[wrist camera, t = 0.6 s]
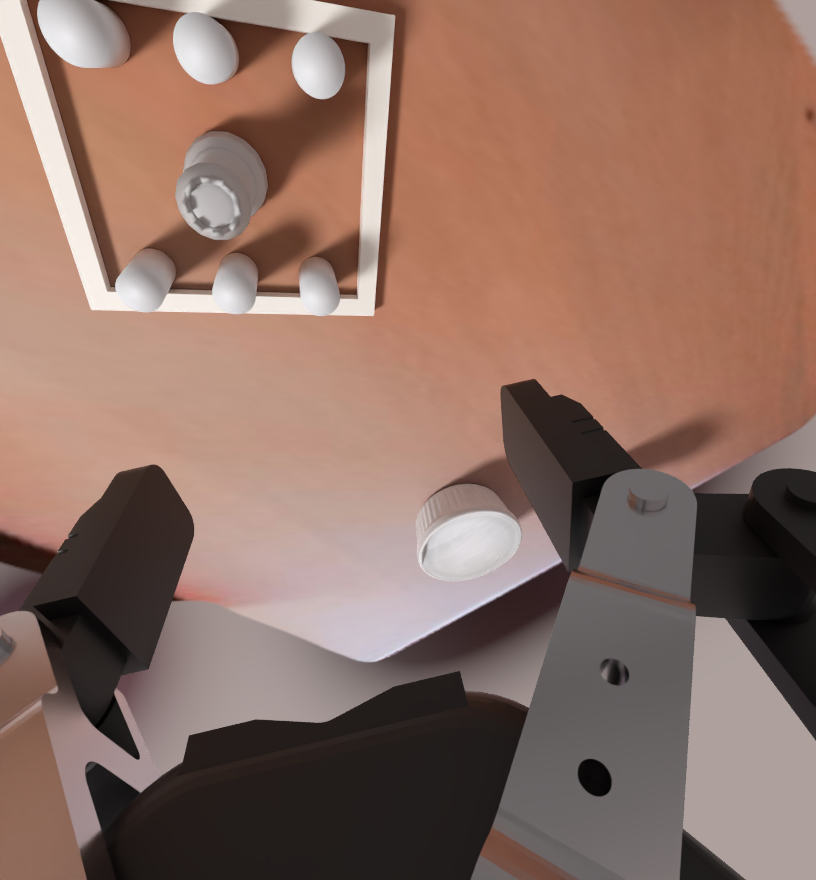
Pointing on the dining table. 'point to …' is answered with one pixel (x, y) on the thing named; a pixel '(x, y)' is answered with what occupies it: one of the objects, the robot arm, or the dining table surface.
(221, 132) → the rook chess piece
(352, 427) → the dining table surface
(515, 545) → the ramekin
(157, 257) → the frame
